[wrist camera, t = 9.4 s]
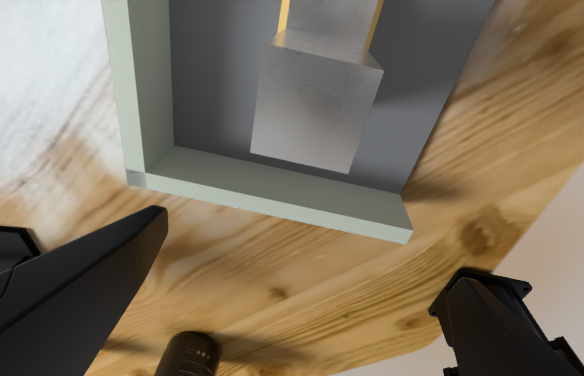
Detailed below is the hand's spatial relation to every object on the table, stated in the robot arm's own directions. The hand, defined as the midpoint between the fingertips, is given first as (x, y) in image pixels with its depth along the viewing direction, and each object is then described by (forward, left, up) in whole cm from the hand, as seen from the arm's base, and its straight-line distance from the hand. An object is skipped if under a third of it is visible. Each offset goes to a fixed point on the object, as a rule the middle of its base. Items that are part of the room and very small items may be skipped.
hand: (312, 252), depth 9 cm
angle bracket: (+1, -5, -12) cm, 13 cm away
